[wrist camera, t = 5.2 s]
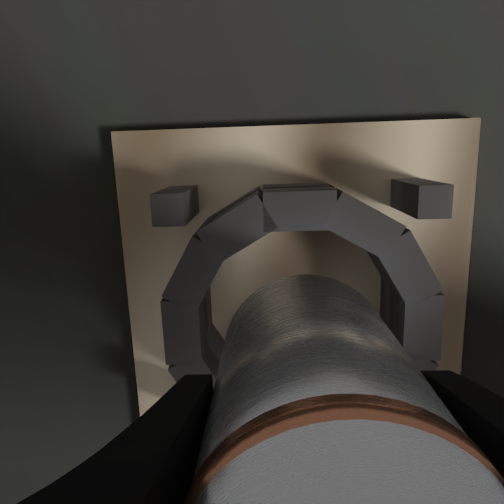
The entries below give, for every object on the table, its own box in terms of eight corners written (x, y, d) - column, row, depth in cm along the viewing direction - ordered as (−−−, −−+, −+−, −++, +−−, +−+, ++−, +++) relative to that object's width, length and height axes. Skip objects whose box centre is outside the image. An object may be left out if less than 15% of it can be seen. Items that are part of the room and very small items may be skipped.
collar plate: (473, 118, 16) (531, 110, 12) (449, 436, 19) (490, 502, 15) (116, 131, 16) (75, 127, 13) (147, 439, 19) (120, 503, 16)
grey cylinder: (395, 274, 12) (655, 503, 4) (382, 430, 13) (572, 867, 5) (222, 270, 12) (137, 485, 4) (222, 425, 13) (153, 844, 5)
